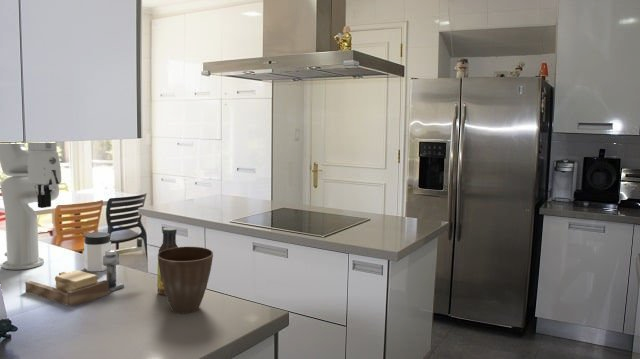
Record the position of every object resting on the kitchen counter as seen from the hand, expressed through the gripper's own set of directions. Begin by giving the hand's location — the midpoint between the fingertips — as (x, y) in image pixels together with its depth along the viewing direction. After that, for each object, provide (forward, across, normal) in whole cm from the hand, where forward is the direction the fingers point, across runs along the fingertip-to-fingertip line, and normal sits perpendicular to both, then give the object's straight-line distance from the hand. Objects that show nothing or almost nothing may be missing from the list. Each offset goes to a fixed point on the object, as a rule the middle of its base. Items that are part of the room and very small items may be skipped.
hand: (44, 207), depth 150 cm
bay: (+25, -9, 0) cm, 27 cm away
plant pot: (+25, -48, -10) cm, 55 cm away
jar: (+25, +4, -21) cm, 33 cm away
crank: (+15, -18, -14) cm, 27 cm away
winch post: (+25, -17, -10) cm, 32 cm away
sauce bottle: (+25, -34, -17) cm, 46 cm away
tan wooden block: (+25, -14, 0) cm, 29 cm away
